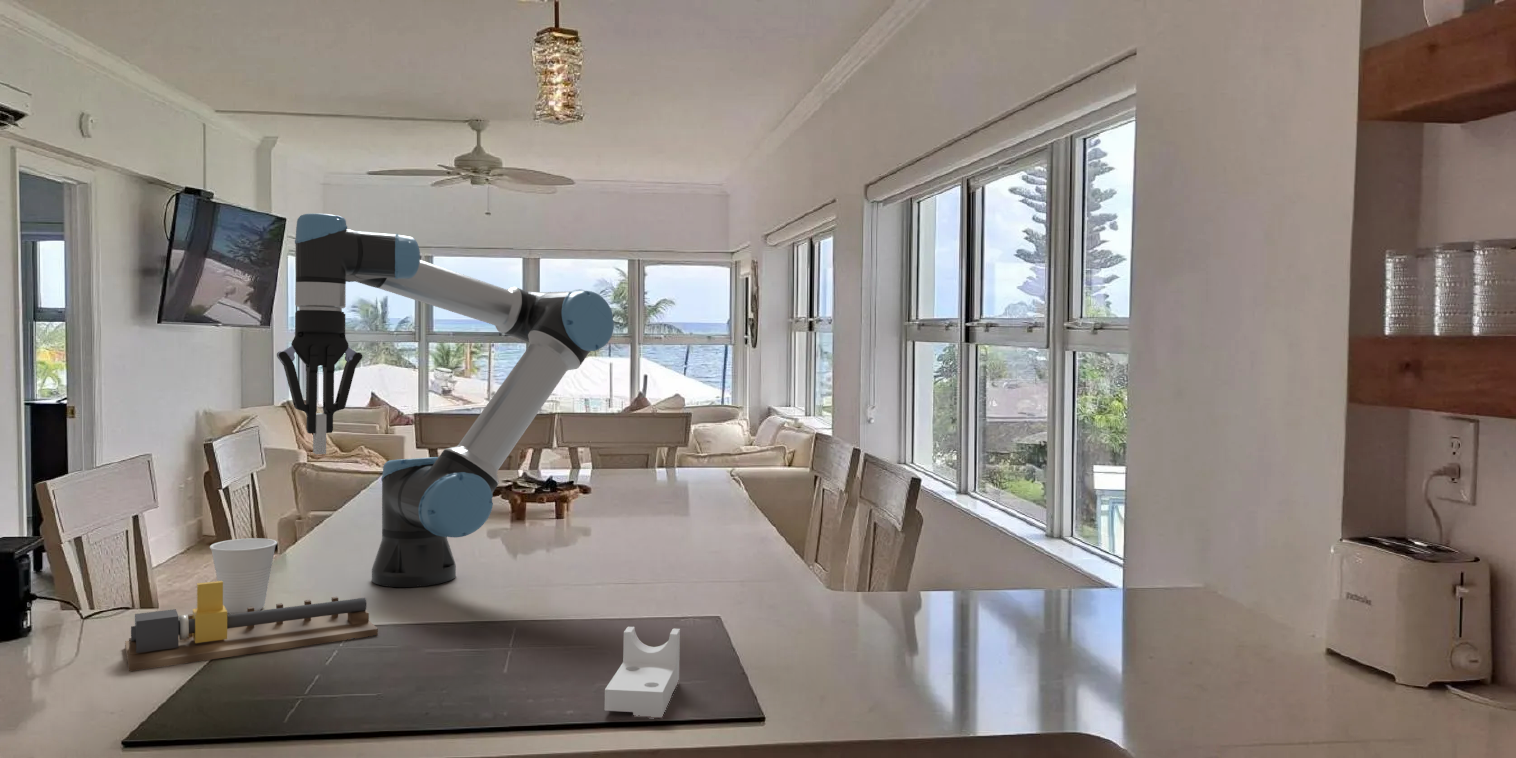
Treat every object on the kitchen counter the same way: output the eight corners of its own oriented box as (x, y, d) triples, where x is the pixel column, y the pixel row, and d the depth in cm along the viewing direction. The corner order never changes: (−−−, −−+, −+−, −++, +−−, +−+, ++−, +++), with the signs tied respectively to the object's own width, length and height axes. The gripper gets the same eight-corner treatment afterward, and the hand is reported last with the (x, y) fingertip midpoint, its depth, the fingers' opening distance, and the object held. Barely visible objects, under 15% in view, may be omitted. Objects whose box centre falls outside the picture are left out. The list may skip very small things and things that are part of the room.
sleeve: (223, 631, 144) (223, 578, 144) (227, 638, 141) (227, 583, 140) (192, 636, 142) (192, 581, 141) (195, 643, 138) (195, 587, 138)
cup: (248, 619, 156) (248, 551, 155) (194, 615, 158) (195, 547, 157) (289, 604, 165) (290, 540, 165) (239, 600, 167) (239, 536, 167)
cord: (363, 608, 154) (363, 596, 154) (366, 611, 153) (366, 599, 152) (130, 639, 136) (130, 624, 136) (131, 642, 135) (131, 628, 135)
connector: (186, 637, 141) (186, 607, 141) (189, 645, 138) (189, 615, 138) (134, 644, 138) (134, 613, 138) (136, 653, 134) (136, 621, 134)
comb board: (358, 616, 159) (359, 592, 159) (377, 635, 149) (377, 609, 149) (125, 647, 140) (125, 620, 140) (129, 671, 130) (129, 641, 130)
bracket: (626, 682, 131) (627, 626, 131) (678, 684, 131) (679, 628, 130) (604, 718, 118) (605, 656, 118) (661, 721, 118) (663, 659, 118)
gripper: (357, 311, 166) (355, 449, 167) (272, 308, 158) (271, 452, 159) (368, 310, 160) (366, 453, 161) (280, 307, 152) (279, 457, 153)
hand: (319, 453), depth 160 cm, fingers closed
